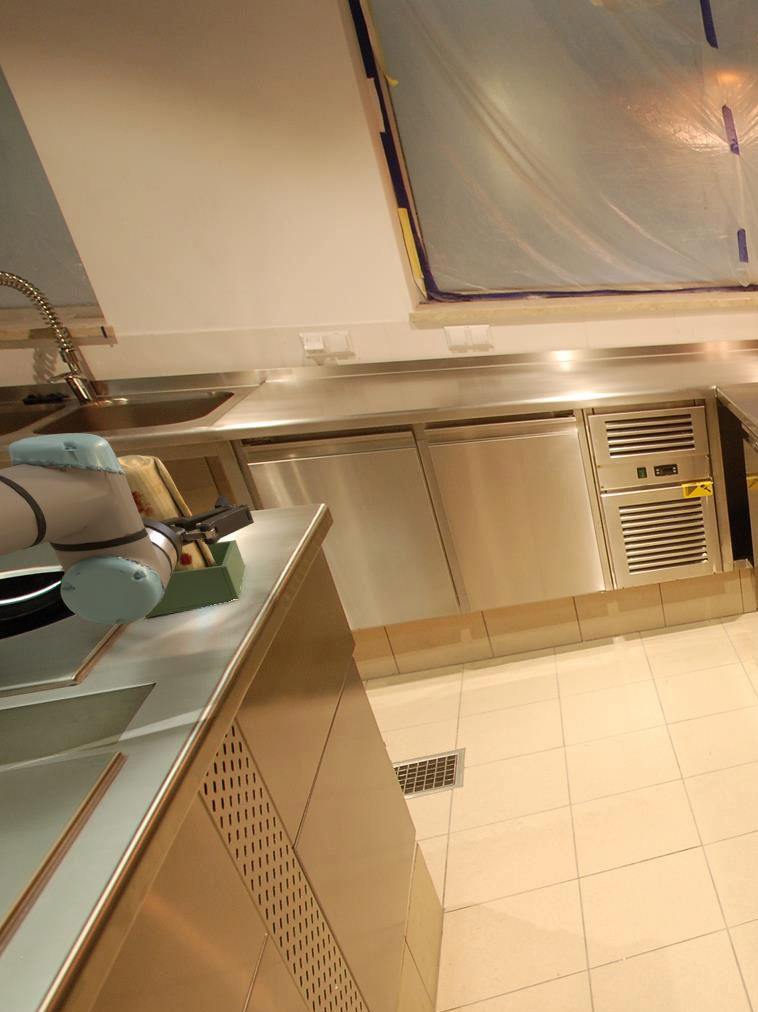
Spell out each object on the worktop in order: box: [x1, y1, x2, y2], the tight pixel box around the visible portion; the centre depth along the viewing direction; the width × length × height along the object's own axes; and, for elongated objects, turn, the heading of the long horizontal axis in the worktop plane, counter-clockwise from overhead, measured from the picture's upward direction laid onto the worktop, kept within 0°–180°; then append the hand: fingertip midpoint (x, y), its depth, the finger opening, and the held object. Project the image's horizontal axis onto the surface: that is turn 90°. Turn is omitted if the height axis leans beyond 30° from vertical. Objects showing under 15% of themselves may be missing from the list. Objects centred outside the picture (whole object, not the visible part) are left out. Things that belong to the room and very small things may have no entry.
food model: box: [117, 454, 217, 572], centre depth 116 cm, size 10×7×20 cm
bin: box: [144, 540, 246, 618], centre depth 121 cm, size 10×13×6 cm
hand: (163, 510), depth 115 cm, fingers open, 13 cm apart
